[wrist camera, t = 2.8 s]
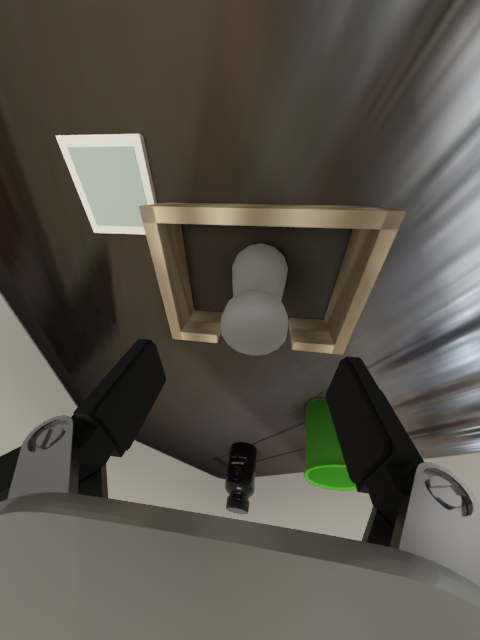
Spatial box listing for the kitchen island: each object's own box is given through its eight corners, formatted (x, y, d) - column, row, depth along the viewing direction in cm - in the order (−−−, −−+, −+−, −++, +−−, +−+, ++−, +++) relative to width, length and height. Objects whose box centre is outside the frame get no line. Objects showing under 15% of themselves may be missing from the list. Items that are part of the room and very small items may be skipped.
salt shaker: (254, 296, 24) (242, 380, 13) (225, 260, 22) (184, 326, 11) (295, 270, 21) (322, 348, 11) (267, 226, 19) (266, 270, 9)
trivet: (143, 135, 16) (138, 133, 16) (163, 234, 21) (160, 235, 20) (61, 137, 17) (54, 135, 17) (98, 231, 22) (93, 232, 21)
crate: (374, 206, 17) (406, 211, 13) (330, 327, 25) (342, 354, 21) (166, 202, 19) (138, 206, 15) (187, 316, 27) (172, 338, 23)
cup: (352, 414, 35) (380, 490, 26) (305, 421, 39) (315, 491, 30) (338, 386, 31) (366, 464, 23) (287, 397, 35) (294, 468, 26)
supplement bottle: (240, 439, 47) (233, 504, 37) (261, 449, 49) (260, 514, 39) (226, 446, 51) (215, 508, 41) (246, 455, 52) (241, 517, 43)
